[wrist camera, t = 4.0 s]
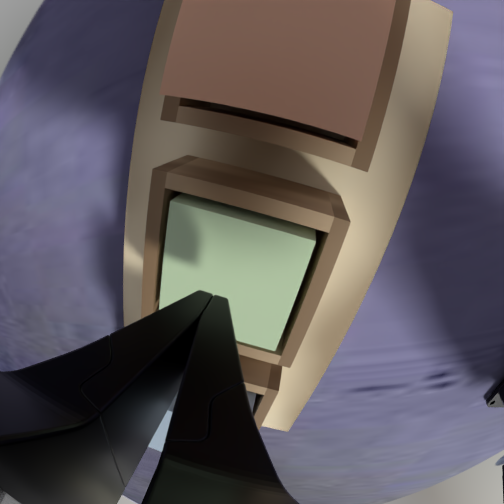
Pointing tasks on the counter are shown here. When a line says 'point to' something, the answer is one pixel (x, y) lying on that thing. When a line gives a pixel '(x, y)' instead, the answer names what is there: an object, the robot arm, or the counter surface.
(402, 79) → the beige wooden block tray
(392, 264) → the counter surface
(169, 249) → the sage key
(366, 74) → the terracotta key
